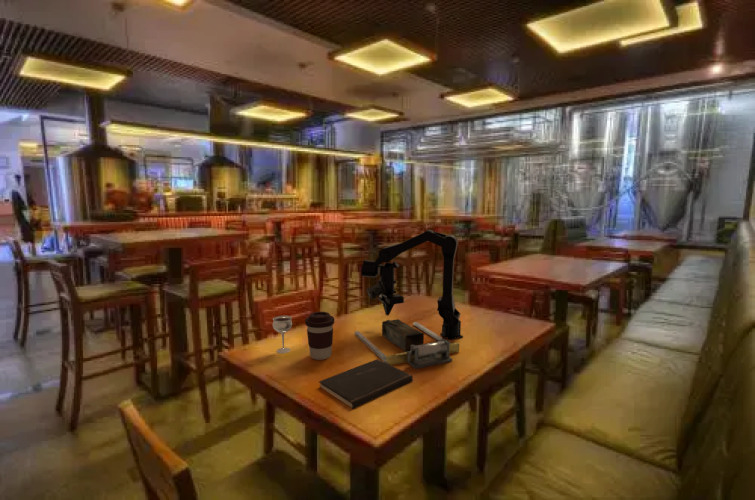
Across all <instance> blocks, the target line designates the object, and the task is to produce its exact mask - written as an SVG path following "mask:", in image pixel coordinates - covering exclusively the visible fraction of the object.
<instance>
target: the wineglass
mask: <svg viewBox="0 0 755 500" xmlns="http://www.w3.org/2000/svg"><path fill="white" fill-rule="evenodd" d="M292 319H293V317H292V316H290V315H285V314H284V315H278V316H274V317H273V318H272V320H273V322H272V328H273V329H274V330H275V331H276V332H277V333H279V334H281V340H282V341H281V343H282V347H281V348H278V349H276V353H277V354H286V353H289V352H291V348H289V347H285V334H286V333H288V332H289V331H290V330H291V328H292V325H293V322H292Z"/></svg>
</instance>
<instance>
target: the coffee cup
mask: <svg viewBox="0 0 755 500" xmlns="http://www.w3.org/2000/svg"><path fill="white" fill-rule="evenodd" d="M304 323H305V326H306V327H307V329H306V334H307V342H308V343H307V344H308V346H309V347H308V349H309V355H310V358H311V359H314V360H316V361H317V360H318V361H319V360H320V361H323V360H327V359H329V358H330V357H331V356H332V350H333V349H332V347H333V346H332V345H333V340H334V339H333V338H334V337H333V336H334V328H333V325H334V324H335V317H334V316H333V315H331V314H330V313H329V312H327V311H314V312H311V313H309V316H307V317H306V318H305V320H304Z"/></svg>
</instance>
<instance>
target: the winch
mask: <svg viewBox="0 0 755 500" xmlns="http://www.w3.org/2000/svg"><path fill="white" fill-rule="evenodd" d="M450 343H451V342H450V341H449V340H448V339H445V338H443V339H442V341H435V342H429V343H423V344H422V345H417V346H415V345H411V351H407V352H406V362H405V363H407V364H409V365H410V366H411V367H412V368H413V369H414V370H417V369H421V368H422V369H423V368H426V367H427V368H428V367H431V366H435V365H436V366H437V365H440V364H445V363H450V362H453V361H452V360H453V358H452V357H451V356H450V353H449V345H450Z"/></svg>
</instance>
